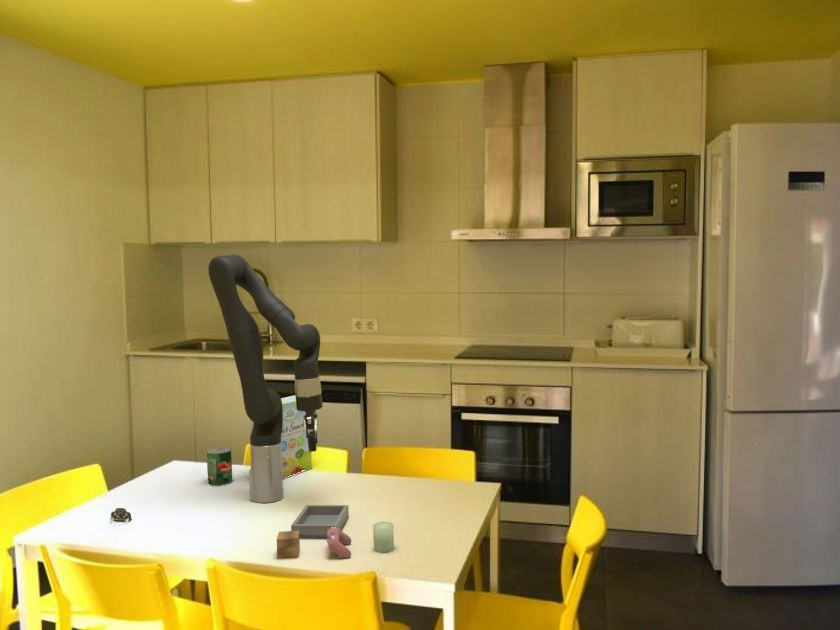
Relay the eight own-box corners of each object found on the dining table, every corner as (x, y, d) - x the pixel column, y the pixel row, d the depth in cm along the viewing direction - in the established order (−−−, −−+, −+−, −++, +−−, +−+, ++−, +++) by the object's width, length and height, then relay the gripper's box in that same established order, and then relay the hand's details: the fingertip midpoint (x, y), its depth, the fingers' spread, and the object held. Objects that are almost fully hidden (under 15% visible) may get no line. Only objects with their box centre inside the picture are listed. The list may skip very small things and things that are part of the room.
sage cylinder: (372, 552, 177) (371, 528, 176) (375, 544, 182) (374, 521, 181) (392, 553, 176) (391, 529, 176) (395, 545, 181) (394, 521, 181)
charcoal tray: (291, 538, 187) (291, 525, 187) (306, 517, 203) (306, 504, 203) (337, 539, 186) (336, 525, 186) (348, 517, 202) (348, 505, 202)
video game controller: (337, 550, 183) (323, 526, 182) (353, 541, 183) (339, 517, 182) (336, 566, 173) (321, 541, 172) (352, 556, 173) (338, 532, 173)
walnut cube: (277, 559, 174) (276, 539, 174) (279, 551, 179) (278, 531, 179) (298, 558, 175) (297, 538, 174) (299, 550, 180) (299, 530, 179)
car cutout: (102, 527, 200) (102, 511, 200) (116, 519, 207) (116, 503, 207) (152, 529, 198) (152, 513, 197) (165, 521, 204) (164, 505, 204)
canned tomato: (228, 486, 234) (227, 452, 233) (204, 486, 234) (203, 453, 233) (235, 478, 242) (234, 446, 241) (212, 479, 242) (210, 447, 241)
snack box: (269, 486, 233) (266, 407, 231) (250, 482, 238) (246, 405, 236) (314, 469, 251) (311, 396, 249) (295, 465, 256) (292, 394, 254)
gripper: (297, 390, 217) (301, 443, 218) (293, 398, 203) (299, 455, 204) (322, 387, 218) (326, 440, 219) (320, 396, 204) (325, 452, 205)
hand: (313, 447), depth 211 cm, fingers open, 8 cm apart
